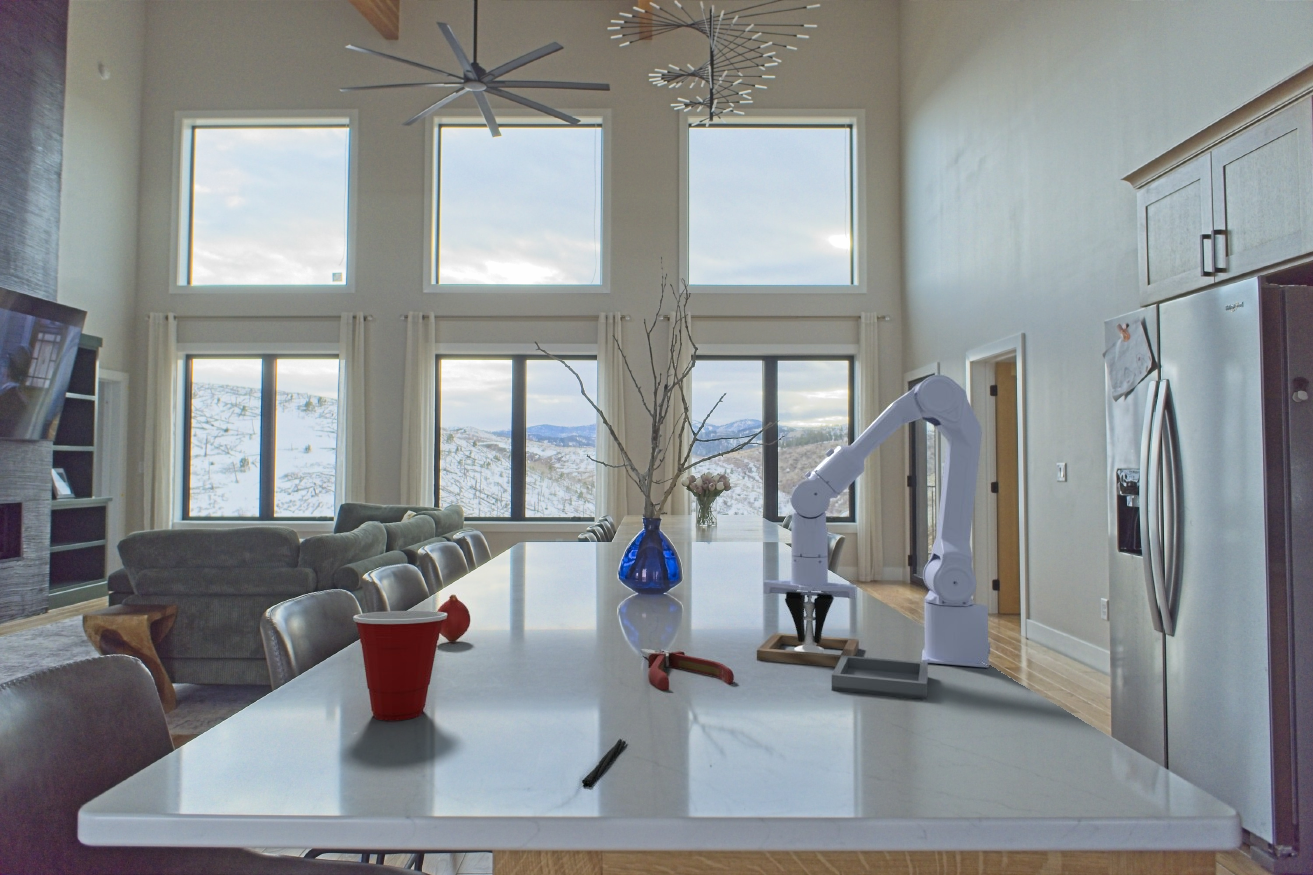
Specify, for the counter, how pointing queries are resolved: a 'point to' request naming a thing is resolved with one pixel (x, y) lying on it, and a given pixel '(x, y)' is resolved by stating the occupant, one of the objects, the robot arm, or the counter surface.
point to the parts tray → (881, 677)
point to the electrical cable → (603, 763)
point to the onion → (454, 619)
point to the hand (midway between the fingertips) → (809, 641)
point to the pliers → (682, 667)
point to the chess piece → (809, 630)
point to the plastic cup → (399, 659)
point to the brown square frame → (772, 654)
